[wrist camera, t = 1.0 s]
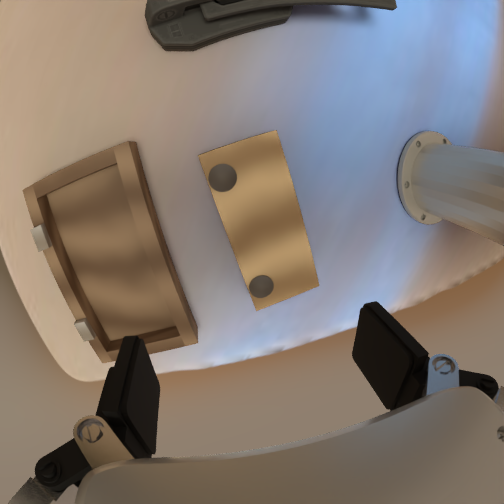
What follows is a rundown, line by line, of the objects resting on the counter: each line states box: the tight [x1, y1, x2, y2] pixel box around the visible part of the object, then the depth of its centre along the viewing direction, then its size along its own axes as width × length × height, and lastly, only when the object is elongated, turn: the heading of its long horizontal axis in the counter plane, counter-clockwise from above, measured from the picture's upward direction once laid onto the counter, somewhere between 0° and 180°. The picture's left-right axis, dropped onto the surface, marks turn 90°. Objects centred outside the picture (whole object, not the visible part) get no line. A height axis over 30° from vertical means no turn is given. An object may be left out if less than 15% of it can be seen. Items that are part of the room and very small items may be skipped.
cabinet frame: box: [23, 141, 198, 363], centre depth 25 cm, size 22×12×4 cm, turn 13°
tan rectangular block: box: [198, 130, 319, 311], centre depth 27 cm, size 16×7×4 cm, turn 18°
